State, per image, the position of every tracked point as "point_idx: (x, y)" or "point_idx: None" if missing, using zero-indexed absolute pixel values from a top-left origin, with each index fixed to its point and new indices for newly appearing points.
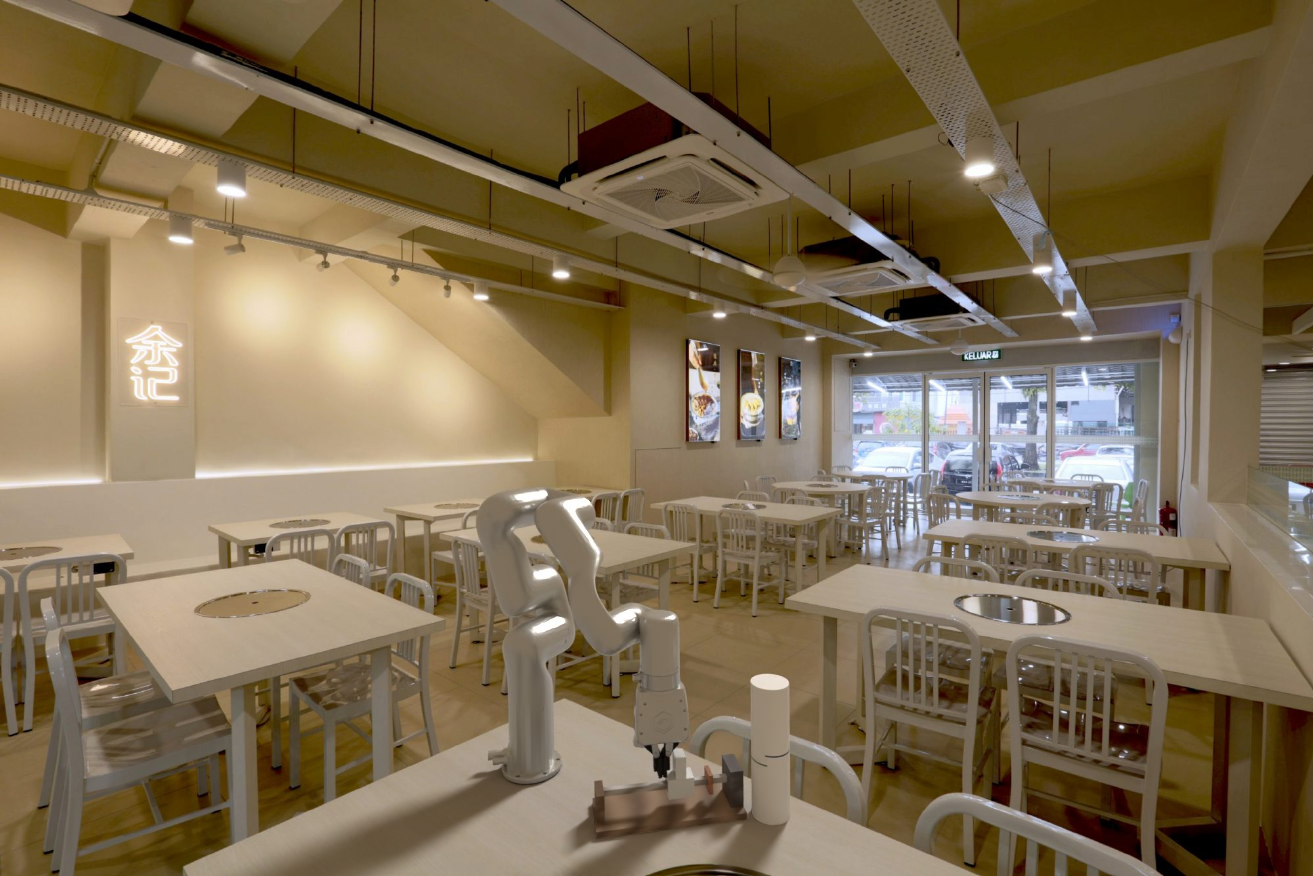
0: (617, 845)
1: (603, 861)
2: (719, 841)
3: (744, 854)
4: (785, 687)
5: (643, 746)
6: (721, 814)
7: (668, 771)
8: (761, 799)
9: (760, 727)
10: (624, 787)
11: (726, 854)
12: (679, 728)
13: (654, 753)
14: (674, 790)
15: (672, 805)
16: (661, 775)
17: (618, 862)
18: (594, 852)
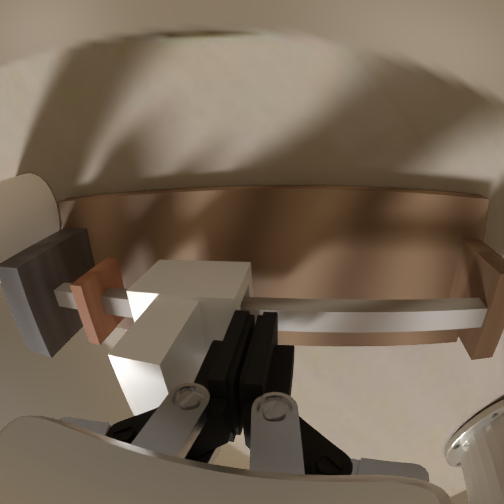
0: (434, 150)
1: (471, 100)
2: (134, 118)
3: (91, 74)
4: None
5: (357, 467)
6: (108, 204)
7: None
8: (6, 197)
9: None
10: (419, 316)
11: (128, 70)
12: (8, 498)
13: (286, 417)
14: (219, 275)
15: None
16: (262, 317)
17: (436, 82)
18: (489, 143)
